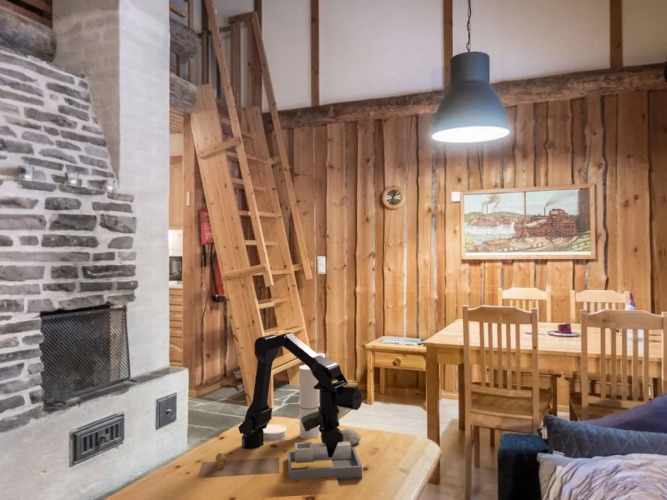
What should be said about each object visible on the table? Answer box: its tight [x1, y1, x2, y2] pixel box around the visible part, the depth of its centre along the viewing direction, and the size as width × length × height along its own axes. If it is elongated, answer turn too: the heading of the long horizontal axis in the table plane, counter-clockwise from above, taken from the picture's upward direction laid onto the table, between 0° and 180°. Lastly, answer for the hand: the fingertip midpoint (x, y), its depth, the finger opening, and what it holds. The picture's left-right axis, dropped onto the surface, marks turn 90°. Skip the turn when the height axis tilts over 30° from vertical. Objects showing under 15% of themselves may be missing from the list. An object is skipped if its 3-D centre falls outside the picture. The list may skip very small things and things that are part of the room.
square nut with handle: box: [294, 441, 352, 464], centre depth 158 cm, size 17×5×4 cm, turn 97°
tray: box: [286, 447, 363, 481], centre depth 158 cm, size 22×15×4 cm
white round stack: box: [263, 423, 288, 442], centre depth 186 cm, size 10×10×4 cm
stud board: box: [197, 452, 280, 479], centre depth 158 cm, size 24×11×6 cm, turn 97°
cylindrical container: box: [298, 364, 321, 440], centre depth 187 cm, size 7×7×25 cm
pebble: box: [341, 427, 361, 446], centre depth 181 cm, size 9×8×5 cm
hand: (329, 454), depth 158 cm, fingers closed on square nut with handle, 3 cm apart
